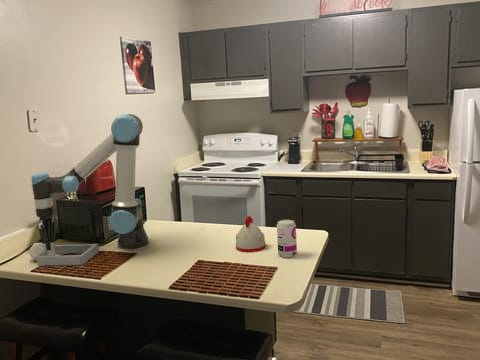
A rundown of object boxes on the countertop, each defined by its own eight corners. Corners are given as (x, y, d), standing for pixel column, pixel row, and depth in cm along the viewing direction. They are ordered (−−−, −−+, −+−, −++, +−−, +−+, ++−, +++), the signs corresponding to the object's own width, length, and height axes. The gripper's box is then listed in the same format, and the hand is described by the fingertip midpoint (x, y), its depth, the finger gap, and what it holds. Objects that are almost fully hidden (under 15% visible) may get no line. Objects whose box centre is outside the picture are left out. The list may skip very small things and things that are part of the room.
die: (36, 265, 204) (48, 246, 205) (21, 256, 205) (33, 237, 206) (45, 265, 212) (56, 247, 213) (30, 256, 213) (41, 238, 215)
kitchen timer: (231, 251, 204) (229, 219, 202) (242, 242, 217) (240, 212, 214) (260, 253, 199) (258, 220, 196) (269, 243, 211) (268, 213, 209)
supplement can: (299, 253, 196) (298, 219, 194) (293, 259, 189) (292, 225, 186) (281, 251, 200) (280, 218, 197) (275, 257, 192) (273, 224, 190)
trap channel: (99, 251, 216) (98, 243, 215) (83, 264, 199) (82, 256, 198) (56, 252, 218) (55, 245, 217) (37, 265, 201) (36, 257, 201)
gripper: (44, 204, 212) (50, 251, 216) (28, 210, 199) (36, 261, 203) (59, 203, 211) (65, 251, 215) (44, 210, 198) (51, 260, 202)
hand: (51, 256), depth 209 cm, fingers closed
